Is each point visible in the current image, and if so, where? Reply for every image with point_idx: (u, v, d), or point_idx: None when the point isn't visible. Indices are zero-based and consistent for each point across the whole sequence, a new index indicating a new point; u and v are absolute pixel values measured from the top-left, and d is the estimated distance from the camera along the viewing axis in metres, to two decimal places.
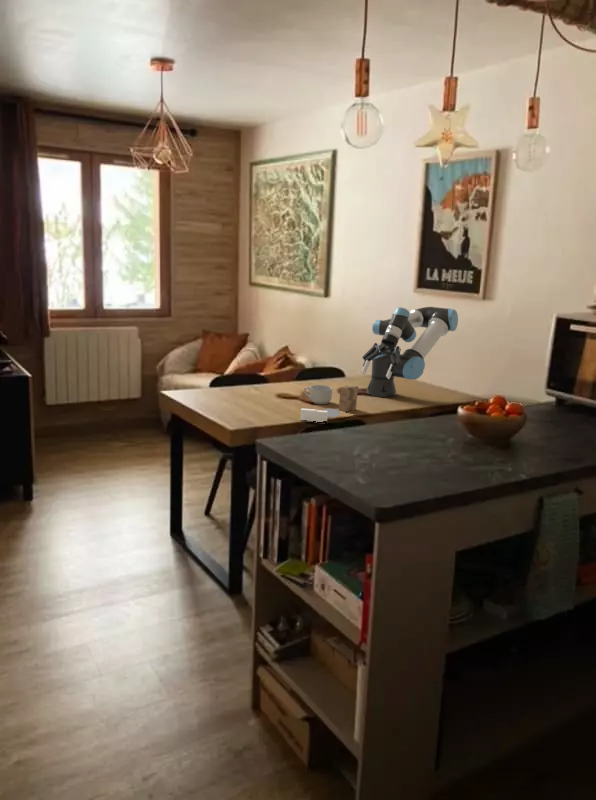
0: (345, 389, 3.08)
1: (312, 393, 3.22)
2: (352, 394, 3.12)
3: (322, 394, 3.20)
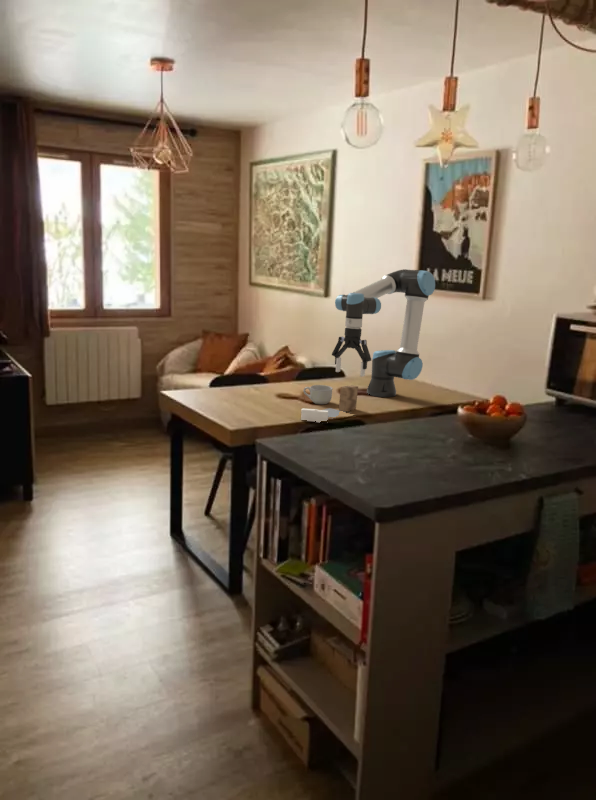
0: (345, 389, 3.08)
1: (312, 393, 3.22)
2: (352, 394, 3.12)
3: (322, 394, 3.20)
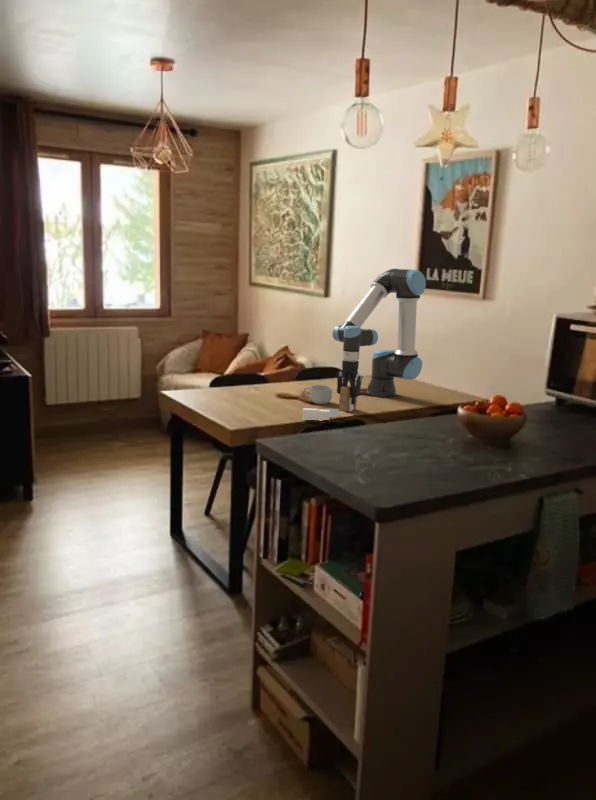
0: (345, 389, 3.08)
1: (312, 393, 3.22)
2: None
3: (322, 394, 3.20)
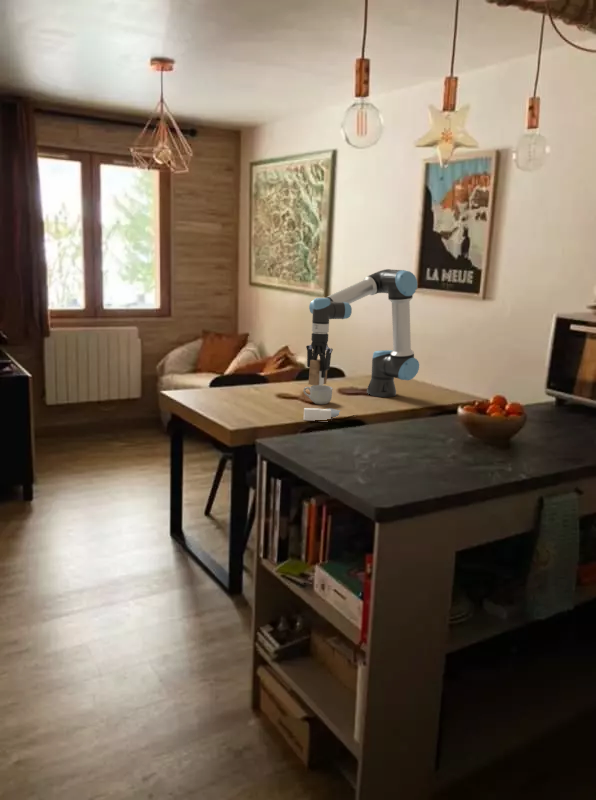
0: (314, 362, 3.03)
1: (312, 393, 3.22)
2: None
3: (322, 394, 3.20)
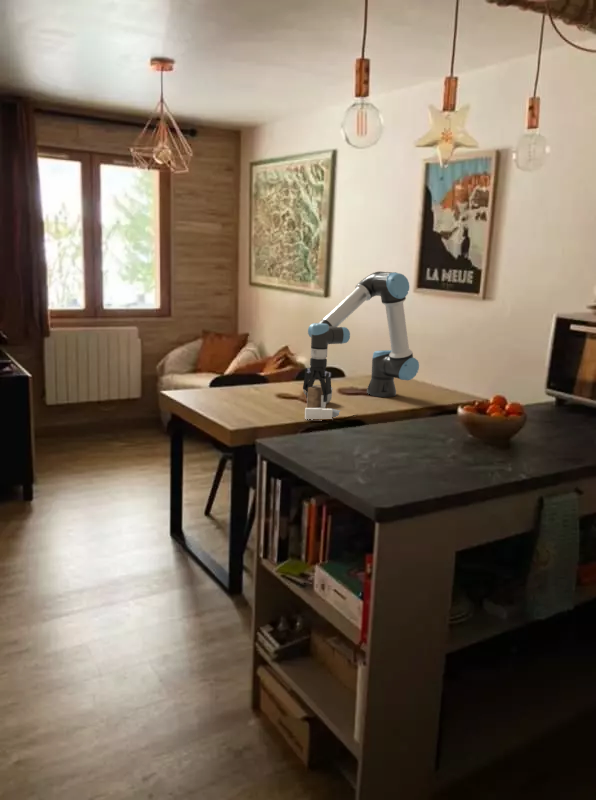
0: (312, 390, 3.05)
1: None
2: (320, 394, 3.09)
3: None
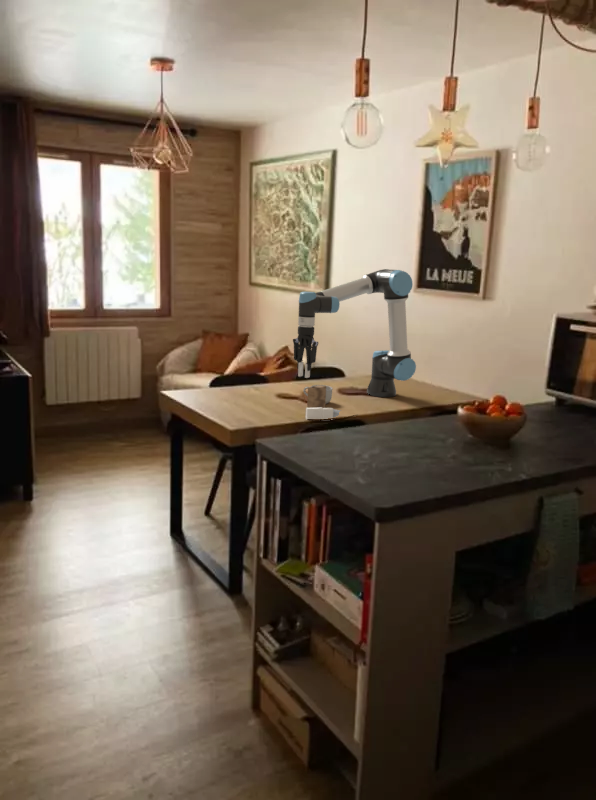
0: (312, 390, 3.05)
1: None
2: (320, 394, 3.09)
3: None
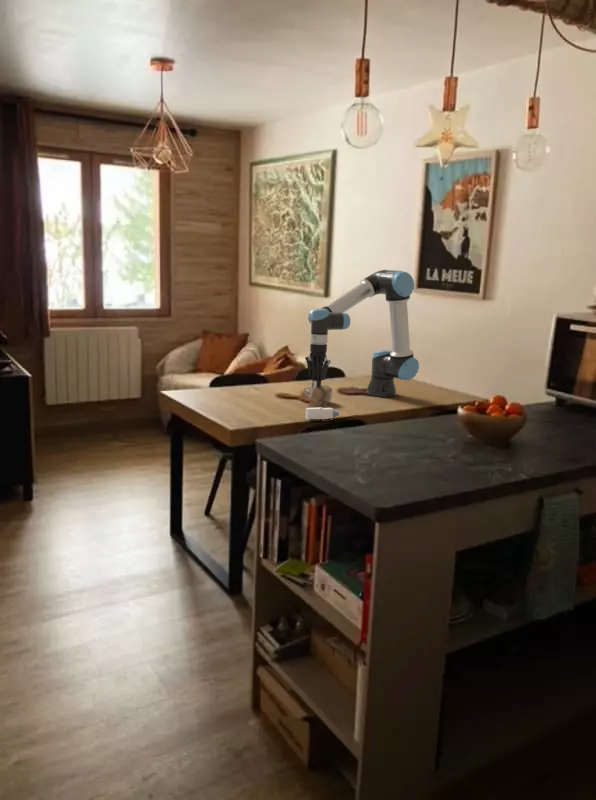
0: (318, 391, 3.03)
1: None
2: (324, 396, 3.08)
3: None
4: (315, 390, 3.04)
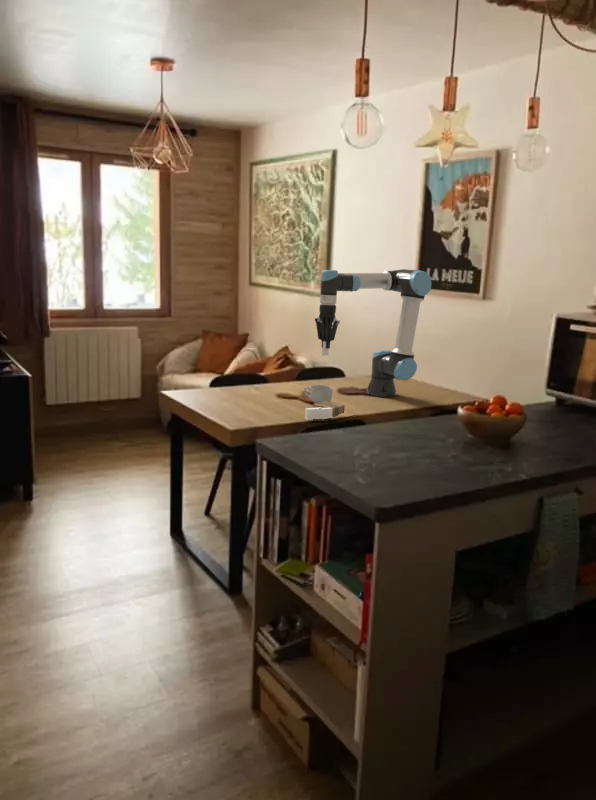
0: None
1: (312, 393, 3.22)
2: None
3: (322, 394, 3.20)
4: None
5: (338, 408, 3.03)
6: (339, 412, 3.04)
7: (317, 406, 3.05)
